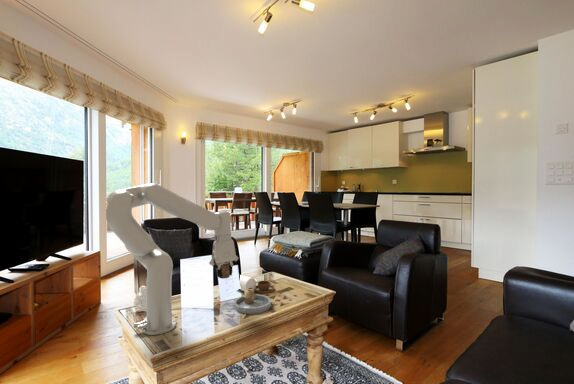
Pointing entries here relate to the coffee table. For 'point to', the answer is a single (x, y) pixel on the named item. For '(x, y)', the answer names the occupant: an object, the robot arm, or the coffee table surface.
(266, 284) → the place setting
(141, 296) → the koala figurine
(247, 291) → the oak bead
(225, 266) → the walnut bead
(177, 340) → the coffee table surface
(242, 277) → the mug
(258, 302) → the dish
